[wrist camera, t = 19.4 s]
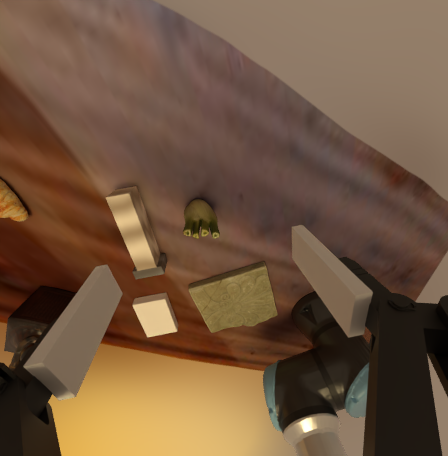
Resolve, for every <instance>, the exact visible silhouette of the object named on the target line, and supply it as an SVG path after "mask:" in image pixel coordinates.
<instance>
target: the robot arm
mask: <svg viewBox="0 0 448 456" xmlns="http://www.w3.org/2000/svg"><path fill="white" fill-rule="evenodd" d="M292 259H293V260H294V262H295V263H296V264H297V266H298V267H299V269H300V270H301V271H302V273H303V274H304V276H305V277H306V278H307V280H308V281H309V283H310V284H311V286H312V287H313V288H314V290H315V291H316V292H313V293H311V294H308V295H307V296H305V297H303V298H302V299H301V300H300V301H299V302H298V303H297V304H296V305H295V307H294V309H293V312H292V318H293V321H294V323H295V325H296V326H297V328H298V329H299V330H300V331H301V332H302V333H303V334H304V335H305V336H306V337H307V338H308V339H309V340H310V341H311V342H312V344H313V346H314V349H311V350H308V351H305V352H303V353H300V354H297V355H294V356H292V357H289V358H286V359H284V360H278V361H277V362H276V363H274V364H272V365H269V366H268V367H266V369H265V371H264V375H263V385H264V393H265V399H266V403H267V407H268V408H269V415H270V418H271V421H272V423H273V425H274V427H275V428H276V429H277V430H278V431H282V432H283V436H284V439H285V440H286V441H287V442H288V443H289V444H290V445H292V446H293V447H294V448H295V450H296V453H297V456H347V454H346V452H345V450H344V448H343V445H342V443H341V441H340V439H339V436H338V433H339V429H340V420H339V418H338V416H337V414H336V412H337V411H338V410H342V409H346V411H347V412H348V413H349V414H350V415H351V416H352V417H356V418H358V417H364V416H366V418H365V432H364V447H363V456H442V451H441V445H440V438H439V430H438V424H437V417H436V412H435V411H436V410H435V404H434V398H433V391H432V384H431V377H430V370H429V364H428V357H427V354H428V356H429V358H430V360H431V362H432V364H433V367H434V369H435V371H436V373H437V375H438V377H439V379H440V382H441V384H442V386H443V388H444V390H445V392H446V394H447V396H448V295H446V296H443V297H442V298H441V299H440V301H439V303H438V304H431V303H430V304H429V303H416V302H414V301H413V300H412V299H410V298H408V297H407V296H404V295H401V294H397V293H391V292H390V291H389V290H388V289H386V288H385V287H384V286H383V285H382V284H381V283H380V282H378V281H377V280H376V279H375V278H374V277H373V276H371V275H370V274H368V272H367V271H366V270H365V269H362V267H361V266H360V265H359V264H358V263H356V262H355V261H353V260H351V259H349V258H347V257H343V258H337V257H336V256H335V255H333V254H332V253H331V252H330V251H329V250H328V249H327V248H326V247H325V246H324V245H323V244H322V243H321V242H320V241H319V240H318V239H317V238H316V237H315V236H314V235H312V234H311V233H310V232H309V231H308V230H307V229H306V228H305V227H304V226H303V225H299V226H294V227H292ZM121 296H122V292H121V290H120V288H119V286H118V284H117V282H116V280H115V279H114V277H113V275H112V273H111V271H110V269H109V267H108V265H102V266H97V267H96V268H95V269H94V270H93V272H92V273H91V274H90V276H89V277H88V278H87V280H86V281H85V283H84V284H83V285H82V287H81V288H80V289H79V291H78V292H77V294H76V295H75V296H74V298H73V299H72V300H71V302H70V303H69V305H68V306H67V307H66V309H65V310H64V311H63V313H62V314H61V315H60V317H58V318H56V319H55V320H54V321H52V322H51V323H50V324H49V325H48V326H47V327H46V328H45V330H44V331H43V332H42V334H41V335H40V337H39V338H38V339H37V340H36V341H35V343H34V345H32V347H31V348H30V349H29V351H28V352H27V353H26V355H25V356H24V357H23V359H22V360H21V361H20V363H19V364H18V365H17V367H16V368H15V369H14V371H12V370H11V369H9V368H8V367H7V366H6V365H5V364H4V363H0V456H61V452H60V447H59V442H58V438H57V432H56V427H55V423H54V418H53V413H52V408H51V406H50V404H49V403H48V401H49V399H50V397H51V395H52V394H53V395H54V396H55V397H56V398H57V399H58V400H63V399H68V398H73V397H76V395H77V393H78V391H79V388H80V386H81V384H82V382H83V380H84V378H85V375H86V373H87V371H88V369H89V366H90V364H91V362H92V360H93V358H94V355H95V353H96V351H97V349H98V347H99V345H100V342H101V340H102V338H103V336H104V334H105V331H106V329H107V327H108V325H109V323H110V320H111V318H112V316H113V314H114V312H115V309H116V307H117V305H118V303H119V301H120V298H121ZM365 326H366V327H367V328H368V329H369V331H370V332H371V333H372V335H371V339H370V343H369V344H368V342H367V341H366V340H365V338H364V337H363V336H362V335H363V334H364V331H365Z"/></svg>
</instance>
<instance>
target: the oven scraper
mask: <svg viewBox="0 0 448 456" xmlns="http://www.w3.org/2000/svg"><path fill="white" fill-rule="evenodd" d="M106 200H107V202H108V204H109V206H110V209H111V211H112V213H113V216H114V218H115V220H116V223H117V225H118V227H119V230H120V232H121V234H122V237H123V239H124V241H125V243H126V246H127V248H128V250H129V253H130V255H131V257H132V260H133V262H134V264H135V268H134V270H133V274H134V276H135V278H136V279H140V278H145V277H150V276H156V275H161V274H164V272H165V268H166V264H167V258H166V255H165V253H163V254H160V251H159V248H158V245H157V242H156V240H155V237H154V234H153V231H152V228H151V225H150V222H149V220H148V217H147V214H146V211H145V208H144V205H143V203H142V200H141V197H140V194H139V191H138V188H137V186H134V187H128V188H122V189H117V190H115V191H114V192H112V193H111V194H110V195H108V196H107V197H106Z"/></svg>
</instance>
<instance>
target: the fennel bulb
mask: <svg viewBox="0 0 448 456" xmlns="http://www.w3.org/2000/svg"><path fill="white" fill-rule="evenodd" d="M184 218H185V227H184V230H183V234H184V235H186V236H191V234H192V231H193V237H194V238H196V239H198V238H199V230H200V227H201V236H206V235H208V234H209V228H210V231H211V234H212V237H213V238H214V239H216V238H218V237H219V236H220V233H219V230H218V225H217V217H216V215H215V213H214V211H213V210H212V208H211V207H210V206H209V205H208V204H207V203H206V202H205V201H204V200H201V199H195V200H193V201H191V203H190V204H189V205H188V206H187V207H186V208H185V211H184Z"/></svg>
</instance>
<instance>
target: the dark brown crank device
mask: <svg viewBox="0 0 448 456" xmlns="http://www.w3.org/2000/svg"><path fill="white" fill-rule="evenodd" d="M76 294H77V293H73V292H69V291H65V290H62V289H58V288H52V287H46V286H40V287H39V289H38V290H36V291H35V292H34V293H33V294H32V295H31V296H30V297H29V298H28V299H27V300H26V301H25V302H24V303H23V304H22V305H21V306H20V307H19V308H18V309H17V310H16V311H15V312H14V313H13V314H12V315H11V316H10V317H9V318H8V323H7V332H6V342H5V349H4V351H8V352H14V356H13V358H12V362H11V364H10V365H9V369H11V370H12V371H14V369H15V368H16V367H17V365H18V364H19V363H20V361H21V360H22V359H23V357H24V356H25V355H26V353H27V352H28V351H29V349H30V348H31V347H32V345H34V343H35V341H36V340H37V339H38V338H39V337H40V335H41V334H42V332H43V331H44V330H45V328H46V327H47V326H48V325H49V324H50V323H51V322H52V321H54V320H55V319H56V318H58V317H60V315H61V314H62V313H63V311H64V310H65V309H66V307H67V306H68V305H69V303H70V302H71V300H72V299H73V298H74V296H75V295H76Z"/></svg>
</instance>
